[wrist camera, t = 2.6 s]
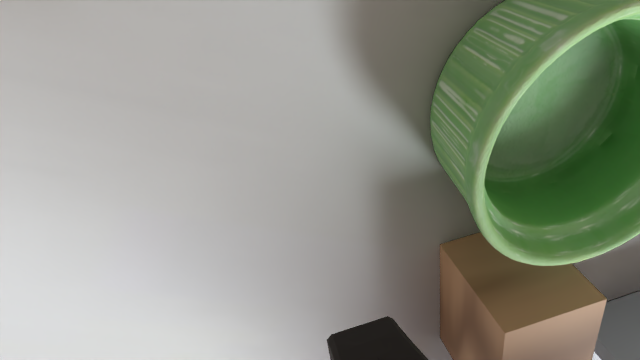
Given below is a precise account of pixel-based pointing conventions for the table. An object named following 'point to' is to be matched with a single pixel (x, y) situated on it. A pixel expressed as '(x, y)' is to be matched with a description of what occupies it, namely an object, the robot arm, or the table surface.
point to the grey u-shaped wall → (620, 329)
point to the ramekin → (546, 127)
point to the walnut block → (514, 306)
